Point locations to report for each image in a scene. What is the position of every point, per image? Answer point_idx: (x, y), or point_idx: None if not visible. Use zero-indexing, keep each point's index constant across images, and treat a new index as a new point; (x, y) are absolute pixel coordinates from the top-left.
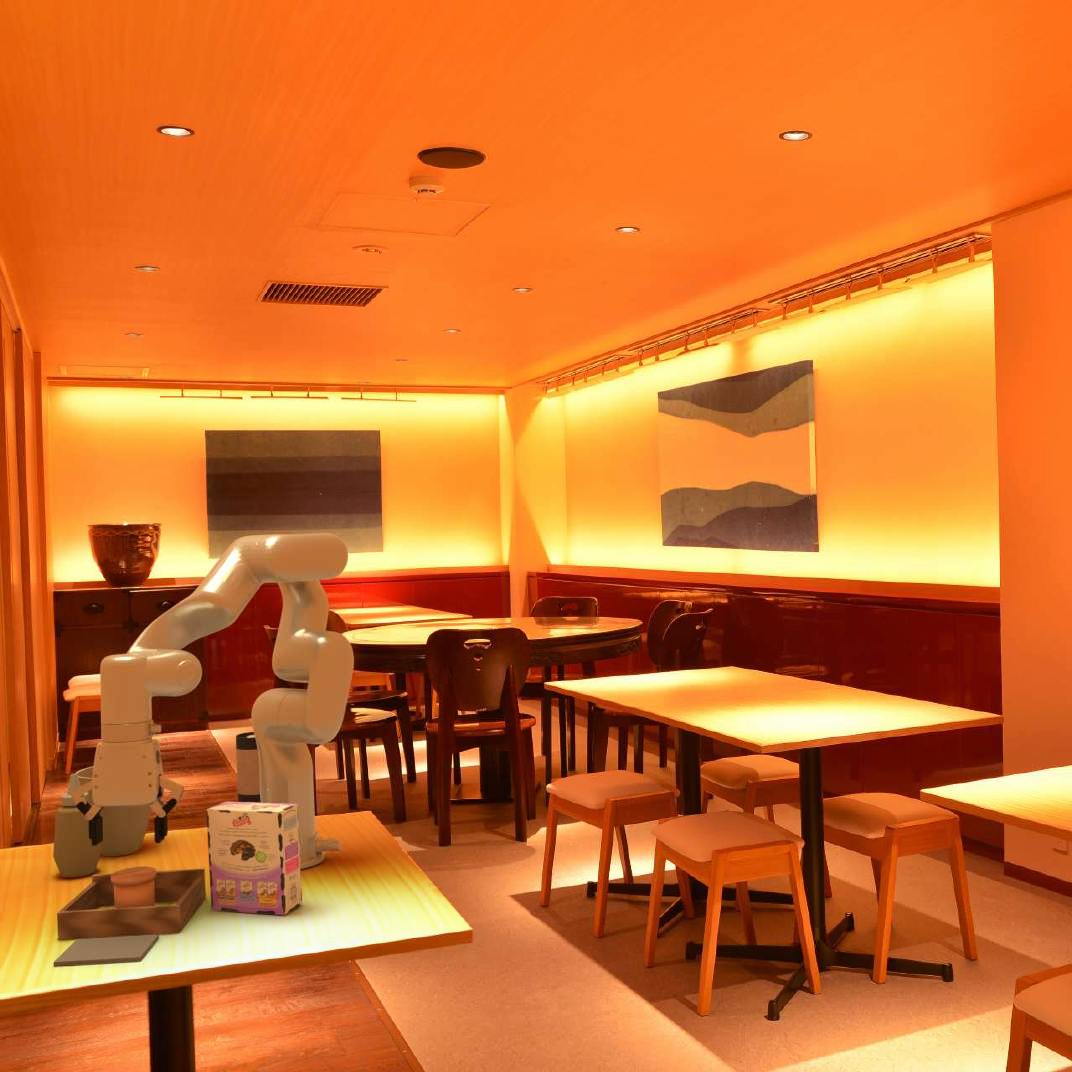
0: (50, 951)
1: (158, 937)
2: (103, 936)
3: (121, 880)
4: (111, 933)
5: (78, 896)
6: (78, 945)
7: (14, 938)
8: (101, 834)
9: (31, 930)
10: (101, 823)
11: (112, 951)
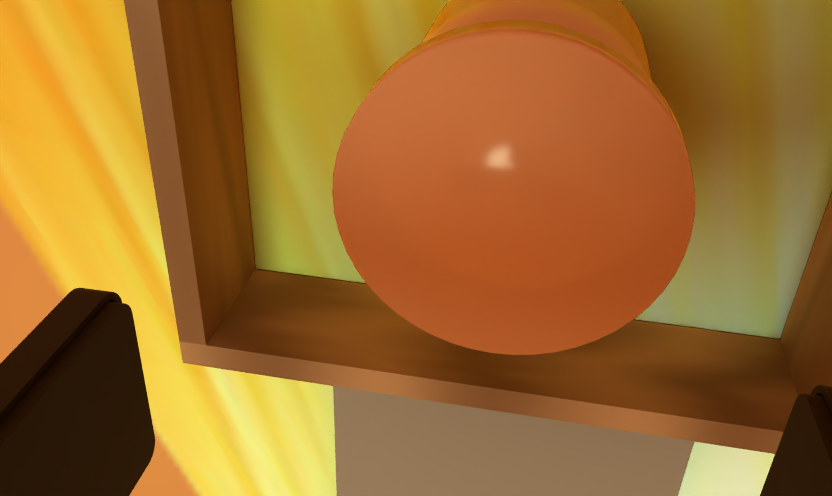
0: (264, 393)
1: None
2: None
3: (453, 341)
4: None
5: (159, 117)
6: (368, 424)
7: (25, 211)
8: (97, 385)
9: (37, 124)
10: (16, 472)
11: None
